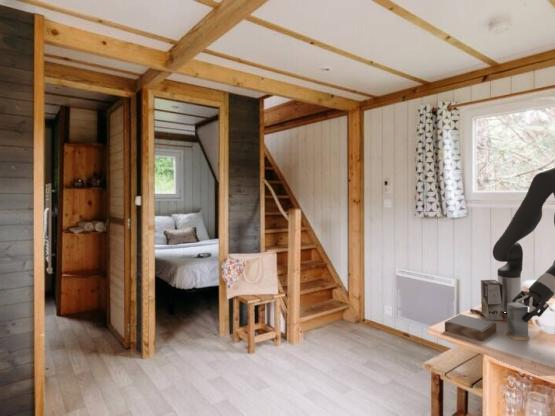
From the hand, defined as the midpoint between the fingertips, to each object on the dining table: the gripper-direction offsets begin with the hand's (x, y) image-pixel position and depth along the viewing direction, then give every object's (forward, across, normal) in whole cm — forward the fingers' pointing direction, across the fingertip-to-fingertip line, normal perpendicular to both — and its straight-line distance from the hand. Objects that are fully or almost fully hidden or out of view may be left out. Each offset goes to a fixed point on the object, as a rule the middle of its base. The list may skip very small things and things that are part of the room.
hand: (516, 316), depth 146 cm
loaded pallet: (+6, 0, +6) cm, 8 cm away
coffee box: (+4, -22, +8) cm, 24 cm away
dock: (+16, -8, -5) cm, 18 cm away
